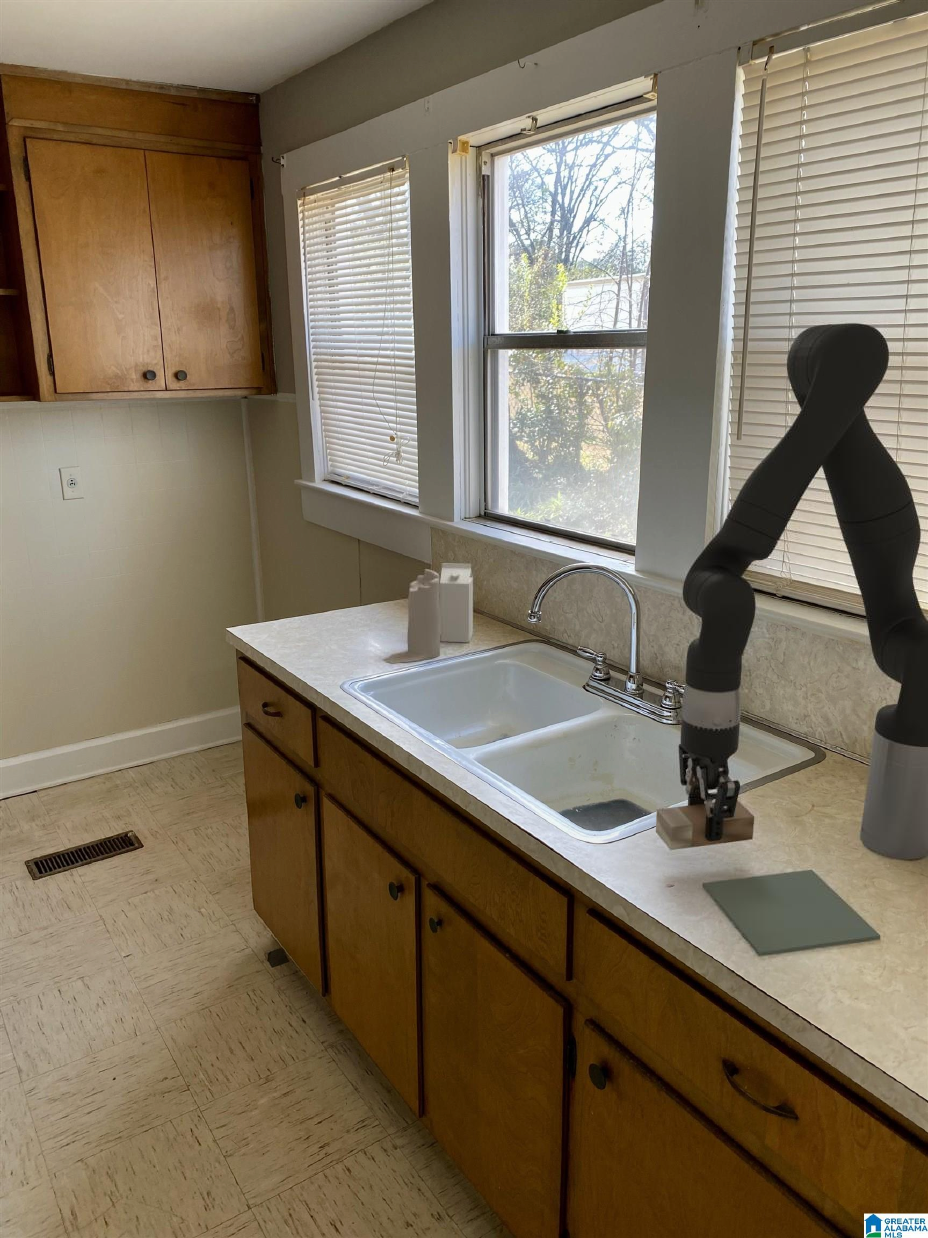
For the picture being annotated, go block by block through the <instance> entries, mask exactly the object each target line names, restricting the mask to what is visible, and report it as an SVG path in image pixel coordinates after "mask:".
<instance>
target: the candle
mask: <svg viewBox="0 0 928 1238" xmlns="http://www.w3.org/2000/svg"><path fill="white" fill-rule="evenodd" d="M407 601H408V603H407V604H408V605H407V606H408V607H407V608H408V609H407V610H408V611H407V612H408V621H407V650H406V651H401V652H396V653H394V654H391V655H389V656H388V657H384V658H382V660H383V661H385V662H387V663H388V664H398V663H413V662H420V661H421V662H422V661H426V660H430V659H431V660H432V659H435V658H437V657H440V655H441V632H440V575H439V573H438V572H436V571H434V570H433V569H427V568H425V569H424V574H423V575H422V574H421V575H420V574H419V575H417V577H416V580H414V581H412V582H410V584H409V591H408V600H407Z"/></svg>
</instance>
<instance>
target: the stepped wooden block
mask: <svg viewBox="0 0 928 1238" xmlns="http://www.w3.org/2000/svg"><path fill="white" fill-rule="evenodd" d="M712 804H713V808H714V804H715V801H714V802H713V801H712ZM706 815H707V814H706V805H705V804H698V805H688V804H687V805H681V806H674V807H665V808H658V809H656V820H655V821H656V822H655V833H656V834H657V835H658V837H659V838H660V840H662V842H663V843H664V844H665V845H666V847H667V848H668V849H669V850H670V851H676V850H684V849H689V848H699V847H704V846H712V845H713V846H714V845H719V844H727V843H736V842H742V841H751V840H752V841H753V840H754V839H753V838H754V829H755V827H754V826H755V816H754V815H753V814H752V813H751V812H750V810H749V809H748V808H746V807H745V805H743V804H742V803H741V802H740V801H739V799H737V804H736V808H735V813H734V817H733V818H725V819H723V833H722V839H721V840H718V841H710V842H709V841H708V840H707V839H706V838H705V829H706Z"/></svg>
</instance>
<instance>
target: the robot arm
mask: <svg viewBox="0 0 928 1238" xmlns="http://www.w3.org/2000/svg"><path fill="white" fill-rule="evenodd" d="M889 361H890V350H889V346H888V342H887V341H886V338H885V337H884V335H883V334H882V332H881V331H879V330H878V329H877V328H875V327H874V326H871V325H868V324H865V323H859V322H858V323H857V322H856V323H855V322H853V323H852V322H849V323H848V322H847V323H835V324H834V323H829V324H821V325H814V326H811V327H807V328H806V329H805V330H802V332H800V333H799V334H798V335H797V336H796V337H795V339H794V340H793V342H792V343H791V345H790V348H789V350H788V355H787V358H786V370H787V377H788V382H789V384H790V388H791V390H792V392H793V395H794V397H795V399H796V401H797V404H798V406H799V408H800V411H799V413H798V415H797V416H796V418H795V420H794V422H792V425H791V426H790V427H789V428H788V430H787V432H785V434H784V436H783V437H782V438H780V440H779V442H778V443H777V444H776V445H775V446H774V447H773V448H772V449H771V450H770V452H769V453H767V455H766V456H765V457H764V458H763V459H762V460H761V461H760V463H759V464H758V465H757V466H756V467H755V469H754V470H752V472H751V473H750V475H749V476H748V478H747V479H746V480H745V482H744V483H743V485H742V487H741V489H740V490H739V492H738V494H737V495H736V498H735V500H734V502H733V504H732V506H731V508H730V509H729V512H728V514H727V516H726V518H725V519H724V522H723V523H722V526H721V528H720V530H719V531H718V532H717V533H716V534H715V536H714V537H712V539H711V540H710V541H709V542H708V544H707V545H706V546H705V547H704V549H703V550H702V551H701V552H700V554H699V555H698V557H697V558H696V559H695V560H694V562H693V564H692V565H691V566H690V568H689V570H688V572H687V573H686V576H685V579H684V582H683V586H682V599H683V602H684V604H685V606H686V607H687V608H688V610H689V611H690V612H692V613H694V614H695V615H696V616H698V617H699V618H700V619H701V626H700V627H701V628H700V632H699V637H697V638H695V639H693V640H692V641H691V642H690V644H689V645H688V647H687V651H686V652H687V653H686V663H685V678H684V679H685V681H684V682H685V684H684V689H683V693H682V704H681V721H680V722H681V723H680V724H681V725H680V740H679V741H680V743H678V760H679V762H678V763H679V764H678V765H679V777H680V784H681V786H683V787H684V786H685V793H686V795H687V796H688V797H687V806H688V805H698V804H705V805H706V814H707V815H706V829H705V838H706V839H707V840H708V841H709V842H710V841H718V840H721V839H722V833H723V819H725V818H733V817H734V813H735V808H736V804H737V800H739V799H738V798H739V794H740V790H741V783H740V781H739V780H738V779H737V780H732V779H731V778H730V776H729V773H730V769H729V763H728V760H729V758H731V757H732V756H733V755H734V754H735V753H737V751H738V749H739V742H740V741H739V740H740V726H741V724H740V723H741V712H742V694H741V683H742V668H743V667H742V666H743V654H744V651H745V649H746V647H747V644H748V641H749V637H750V634H751V631H752V628H753V624H754V620H755V617H756V616H755V615H756V607H757V605H756V604H757V603H756V596H755V592H754V589H753V586H752V584H750V582H749V581H748V580H747V579H746V578H744V577H743V575H744V574H745V573H746V571H747V570H748V569H749V567H750V566H751V564H752V563H753V562H756V561H763V560H766V559H768V558H769V557H770V556H771V554H772V553H773V552H774V550H775V548H776V547H777V544H779V541H780V539H781V537H782V535H783V533H784V532H785V530H786V528H787V526H788V524H789V522H790V520H791V518H792V516H793V514H794V513H795V511H796V508H798V507H797V506H798V504H799V503H800V501H801V500H802V498H803V496H804V494H805V492H806V491H807V489H808V487H809V486H810V484H811V482H812V481H813V480H814V477H815V476H816V475H817V474H818V472H819V470H820V469H821V467H822V470H823V475H824V478H825V480H826V485H827V486H828V487H827V488H828V490H829V493H830V496H831V500H832V503H833V508H834V512H835V516H836V518H837V522H838V525H839V528H840V533H841V536H842V538H843V543H844V544H845V547H846V549H847V553H848V555H849V559H850V562H851V565H852V569H853V572H854V575H855V580H856V582H857V586H858V588H859V592H860V595H861V599H862V602H863V607H864V612H865V617H866V618H865V619H866V625H867V629H868V635H869V636H868V637H869V641H870V647H871V650H872V651H871V652H872V655H873V659H874V661H875V662H874V663H875V664H876V665H877V666H878V668H879V670H880V671H881V672H882V673H883V674H885V676H887V677H888V678H890V679H891V680H893V681H895V682H897V683H898V684H901V685H900V690H899V694H898V700H897V703H892V704H887V705H884V706H882V707H881V708H879V709H878V711H877V712H876V716H875V722H874V730H873V737H872V738H873V739H872V743H871V744H872V745H871V753H870V759H869V766H868V775H867V781H866V783H867V784H866V789H865V796H864V797H865V798H864V804H863V812H862V819H861V826H860V834H859V836H860V838H859V839H860V840H861V843H862V844H864V846H865V847H867V848H868V849H870V850H871V851H873V852H875V853H877V854H878V855H882V856H885V857H889V858H891V859H892V858H894V859H898V860H905V861H906V860H908V861H910V860H919V859H923V858H925V857H926V856H928V619H927V618H926V616H925V615H924V612H923V609H922V608H921V604H920V603H919V598H918V596H917V593H916V589H915V584H914V576H913V575H914V570H915V569H914V568H915V564H916V561H917V557H918V554H919V550H920V545H921V535H922V532H921V531H922V530H921V523H920V520H919V516H918V512H917V508H916V505H915V502H914V497H913V494H912V491H911V488H910V486H909V482H908V481H907V478H906V477H905V475H904V473H903V471H902V470H901V468H900V467H899V465H898V464H897V462H896V461H895V460H894V458H893V457H892V455H891V454H890V453H889V451H888V450H887V448H886V447H885V445H884V444H883V443H882V442H881V440H880V439H879V437H878V436H877V435H876V432H875V431H874V430H873V428H872V426H871V424H870V421H869V419H868V417H867V413H866V411H865V406H866V404H867V403H868V402H869V401H870V399H871V397H872V396H873V395H874V393H875V392H876V390H877V389H878V388H879V386H880V384H881V383H882V381H883V379H884V378H885V375H886V373H887V371H888V366H889ZM711 790H716V791H715V792H714V791H713V792H709V791H711ZM713 801H714V802H715V804H714V808H713V804H712V803H713Z"/></svg>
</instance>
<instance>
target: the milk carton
mask: <svg viewBox="0 0 928 1238" xmlns="http://www.w3.org/2000/svg"><path fill="white" fill-rule="evenodd" d="M473 595H474V575H473V571H472V564H471V563H446V562H445V563H444V562H442V563H441V573H440V578H439V600H440V642H451V643H470V640H471V639H472V636H473V634H474V626H473V625H474V621H473V620H474V619H473V618H474V612H473V611H474V606H473V605H474V598H473V597H474V596H473Z"/></svg>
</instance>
